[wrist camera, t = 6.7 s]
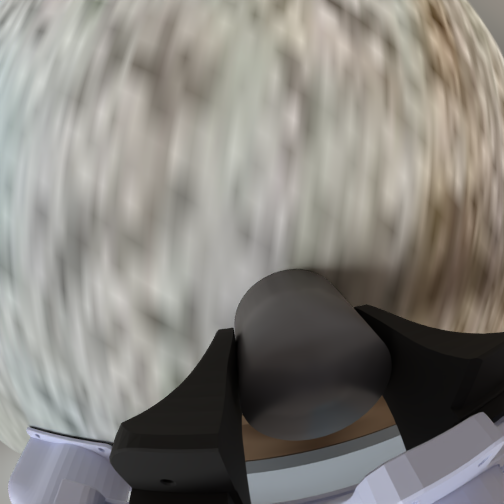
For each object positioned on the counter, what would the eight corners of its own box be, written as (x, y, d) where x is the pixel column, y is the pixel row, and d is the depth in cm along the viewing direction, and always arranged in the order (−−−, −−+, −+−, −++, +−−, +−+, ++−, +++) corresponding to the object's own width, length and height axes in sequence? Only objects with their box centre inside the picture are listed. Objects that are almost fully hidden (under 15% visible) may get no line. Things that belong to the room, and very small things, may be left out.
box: (217, 494, 17) (218, 524, 14) (177, 419, 14) (171, 463, 11) (370, 465, 18) (382, 491, 15) (399, 378, 15) (424, 411, 12)
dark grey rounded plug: (242, 372, 13) (250, 449, 9) (226, 278, 12) (227, 344, 7) (340, 354, 14) (379, 420, 9) (342, 261, 12) (401, 310, 7)
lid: (218, 525, 14) (218, 532, 13) (170, 464, 11) (169, 476, 10) (382, 492, 15) (385, 498, 14) (424, 411, 11) (431, 420, 11)
